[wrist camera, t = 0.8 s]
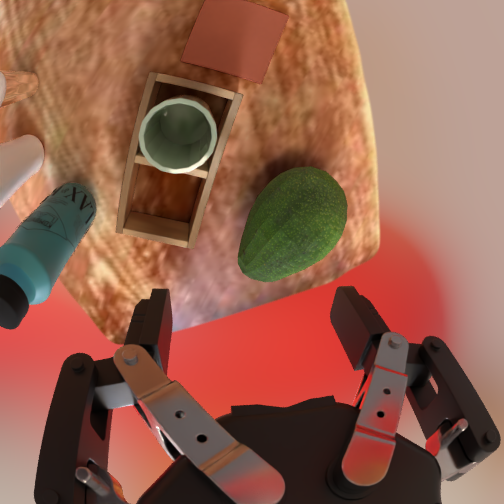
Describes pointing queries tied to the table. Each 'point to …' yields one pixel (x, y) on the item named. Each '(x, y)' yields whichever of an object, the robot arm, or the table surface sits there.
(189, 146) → the cup
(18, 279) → the beverage bottle
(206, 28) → the coaster mat
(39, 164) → the drinking glass
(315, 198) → the fruit
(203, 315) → the table surface
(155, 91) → the brown wooden shelf
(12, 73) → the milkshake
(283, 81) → the table surface
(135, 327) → the robot arm
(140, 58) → the table surface
